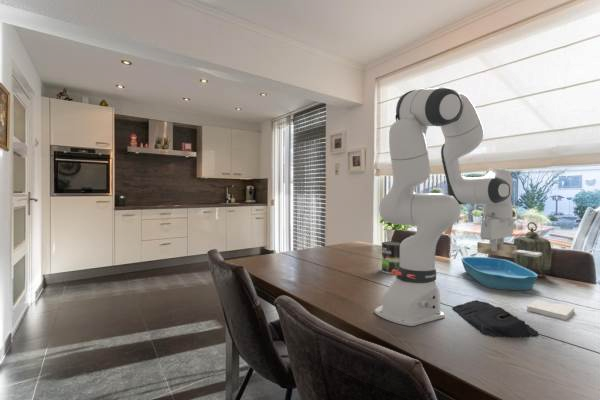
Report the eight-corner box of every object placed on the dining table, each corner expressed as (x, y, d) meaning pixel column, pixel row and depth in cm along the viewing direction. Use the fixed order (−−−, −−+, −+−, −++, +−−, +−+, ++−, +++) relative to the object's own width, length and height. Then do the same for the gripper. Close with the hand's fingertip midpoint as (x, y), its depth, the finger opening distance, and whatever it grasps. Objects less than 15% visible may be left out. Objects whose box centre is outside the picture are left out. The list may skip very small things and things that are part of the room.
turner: (475, 253, 116) (475, 242, 116) (482, 251, 120) (482, 241, 120) (536, 262, 101) (536, 249, 101) (542, 259, 105) (542, 248, 105)
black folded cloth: (493, 309, 105) (493, 295, 105) (544, 339, 83) (544, 322, 83) (448, 308, 105) (448, 295, 105) (487, 339, 83) (487, 322, 83)
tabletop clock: (551, 279, 138) (552, 223, 137) (528, 278, 139) (529, 223, 138) (532, 271, 152) (532, 220, 151) (511, 270, 153) (512, 220, 153)
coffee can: (391, 275, 146) (391, 245, 145) (377, 270, 155) (377, 242, 155) (407, 272, 150) (408, 244, 150) (393, 268, 159) (393, 241, 159)
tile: (536, 304, 108) (574, 313, 100) (527, 311, 102) (566, 321, 94) (536, 299, 108) (574, 307, 100) (527, 306, 102) (566, 315, 94)
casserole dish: (549, 295, 117) (549, 277, 117) (485, 292, 121) (485, 274, 121) (503, 271, 153) (503, 257, 153) (455, 269, 157) (455, 255, 157)
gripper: (495, 214, 104) (494, 254, 105) (517, 212, 117) (516, 248, 117) (475, 213, 109) (475, 251, 110) (498, 211, 122) (498, 246, 122)
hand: (496, 250), depth 113 cm, fingers closed on turner, 3 cm apart
